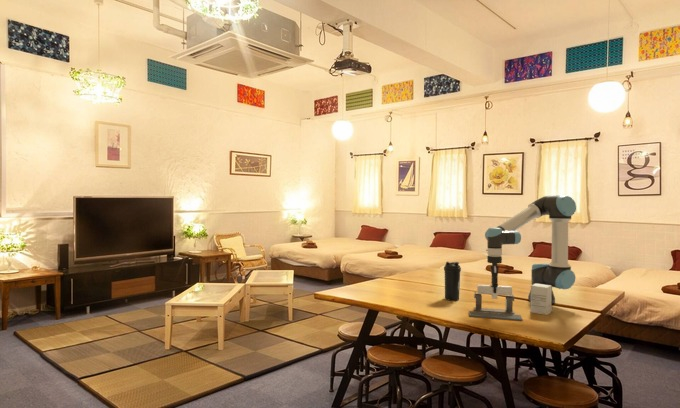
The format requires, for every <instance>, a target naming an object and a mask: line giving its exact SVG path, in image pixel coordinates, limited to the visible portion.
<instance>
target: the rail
mask: <svg viewBox="0 0 680 408" xmlns="http://www.w3.org/2000/svg"><path fill="white" fill-rule="evenodd" d="M476 286H477V290H476V294H481V295H491V296H492V287H491V286H492V284H477V285H476ZM512 294H513V286H512V285H498V287H497V296H512Z"/></svg>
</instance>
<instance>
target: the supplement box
mask: <svg viewBox="0 0 680 408" xmlns="http://www.w3.org/2000/svg"><path fill="white" fill-rule="evenodd" d="M530 290H531V301H530V309H529V310H530V313H532V314H539V315H545V316H548V315H550V314H551V313H552V303H551V297H552V290H553V287H552V286H551V285H544V284H537V283H535V284H533V285H532V284H531V285H530Z"/></svg>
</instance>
